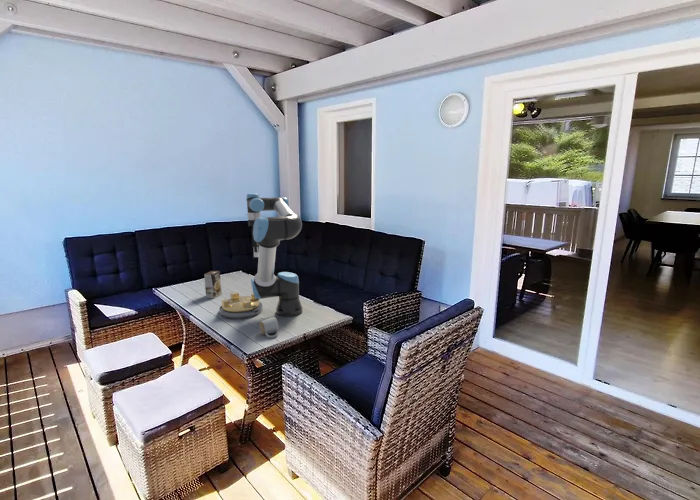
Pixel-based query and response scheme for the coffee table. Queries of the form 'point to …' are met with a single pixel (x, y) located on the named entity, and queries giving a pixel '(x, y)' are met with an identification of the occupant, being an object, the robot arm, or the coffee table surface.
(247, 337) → the coffee table surface
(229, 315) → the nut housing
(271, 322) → the ceramic mug
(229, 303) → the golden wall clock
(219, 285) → the printed cardboard box
